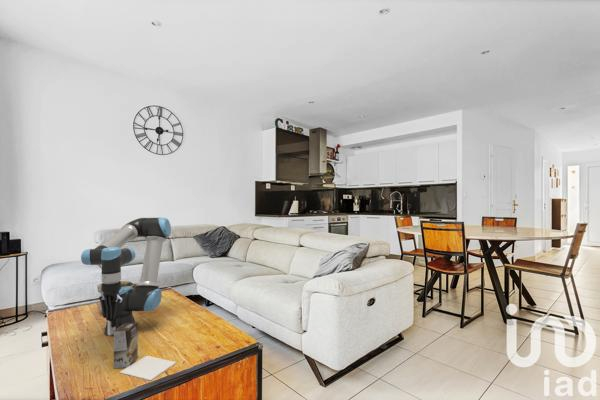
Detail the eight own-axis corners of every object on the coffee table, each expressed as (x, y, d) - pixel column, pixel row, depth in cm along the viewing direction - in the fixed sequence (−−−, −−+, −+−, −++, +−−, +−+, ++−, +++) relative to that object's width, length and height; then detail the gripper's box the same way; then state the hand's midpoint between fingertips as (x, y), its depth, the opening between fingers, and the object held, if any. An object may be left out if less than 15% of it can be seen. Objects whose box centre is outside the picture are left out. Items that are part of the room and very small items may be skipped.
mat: (119, 372, 125) (119, 372, 125) (146, 356, 138) (146, 355, 138) (150, 381, 120) (150, 380, 120) (176, 363, 133) (176, 362, 133)
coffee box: (128, 367, 129) (128, 330, 129) (113, 368, 129) (112, 331, 129) (138, 356, 138) (138, 321, 138) (123, 357, 138) (123, 322, 138)
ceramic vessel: (124, 289, 217) (135, 264, 208) (137, 316, 206) (149, 291, 197) (88, 297, 198) (98, 270, 190) (100, 327, 187) (112, 300, 179)
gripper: (93, 282, 135) (93, 335, 135) (113, 285, 131) (114, 339, 130) (108, 278, 142) (109, 328, 142) (129, 281, 138) (129, 332, 137)
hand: (111, 333), depth 136 cm, fingers closed
